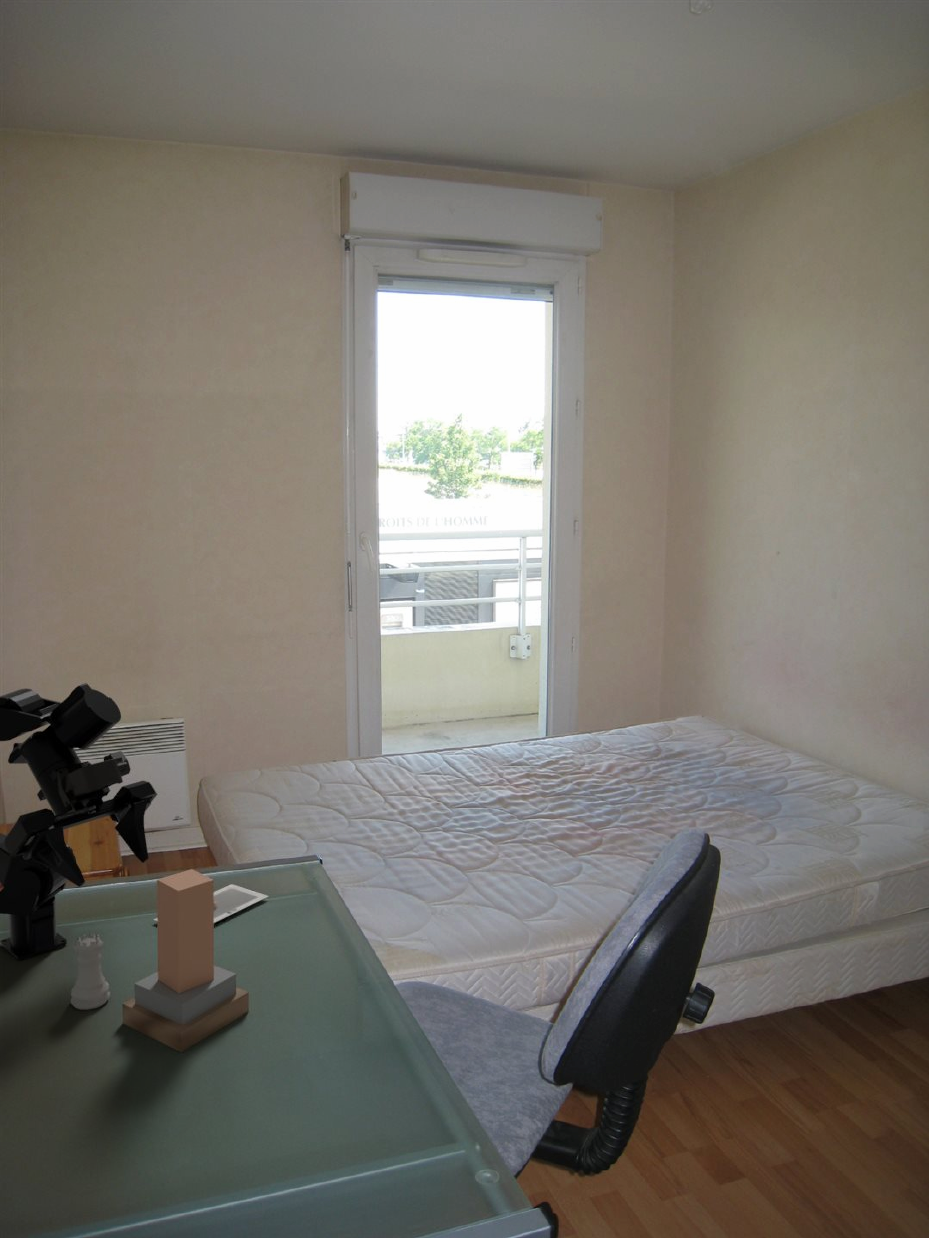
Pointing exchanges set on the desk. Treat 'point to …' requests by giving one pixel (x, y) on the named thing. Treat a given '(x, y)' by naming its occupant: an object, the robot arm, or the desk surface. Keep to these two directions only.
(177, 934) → the pillar
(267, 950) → the desk surface
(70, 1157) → the desk surface
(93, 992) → the rook chess piece
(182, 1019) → the tower top
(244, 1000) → the tower base
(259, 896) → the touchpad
